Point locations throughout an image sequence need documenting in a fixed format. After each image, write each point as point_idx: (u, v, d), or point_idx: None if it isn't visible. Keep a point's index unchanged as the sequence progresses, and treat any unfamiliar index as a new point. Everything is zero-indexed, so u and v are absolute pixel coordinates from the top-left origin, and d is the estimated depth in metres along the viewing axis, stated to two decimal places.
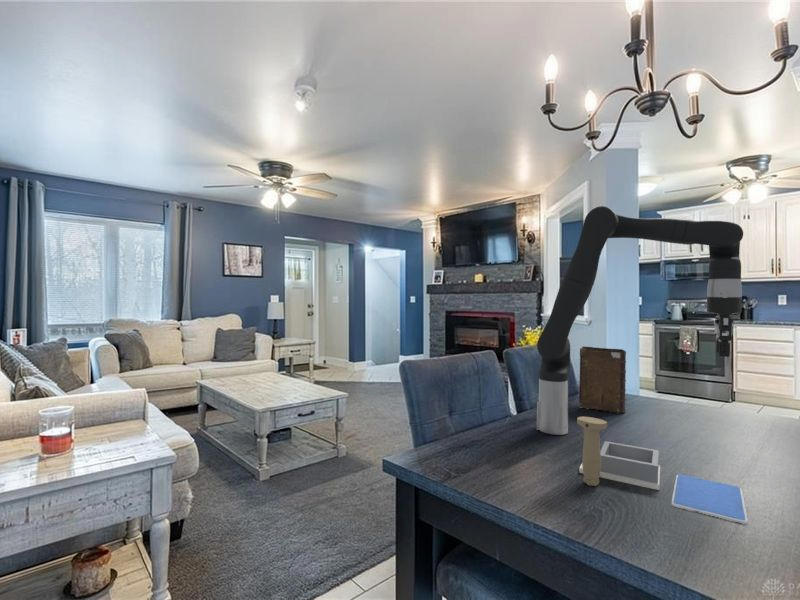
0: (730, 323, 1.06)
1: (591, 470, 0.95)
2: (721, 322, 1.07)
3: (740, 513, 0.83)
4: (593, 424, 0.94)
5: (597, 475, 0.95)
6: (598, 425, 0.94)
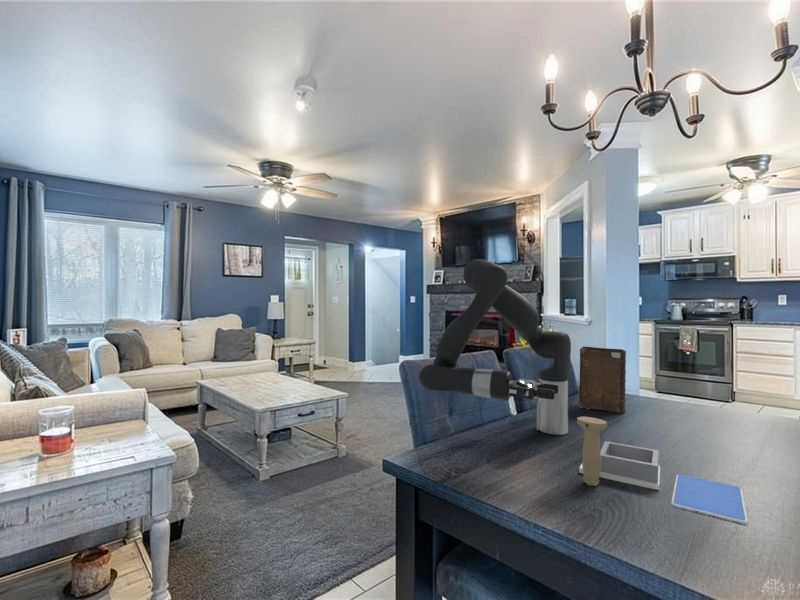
0: None
1: (591, 470, 0.95)
2: None
3: (740, 513, 0.83)
4: (593, 424, 0.94)
5: (597, 475, 0.95)
6: (598, 425, 0.94)
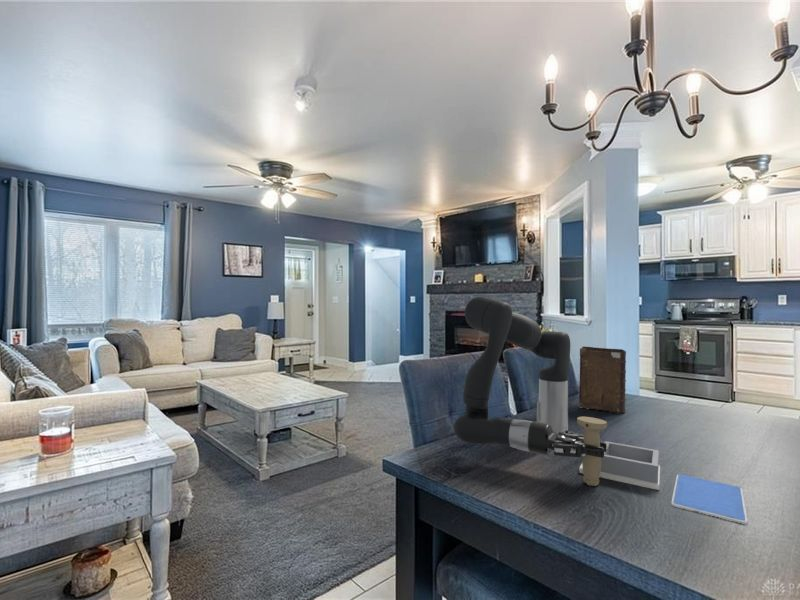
0: None
1: (591, 470, 0.95)
2: None
3: (740, 513, 0.83)
4: (593, 424, 0.94)
5: (597, 475, 0.95)
6: (598, 425, 0.94)
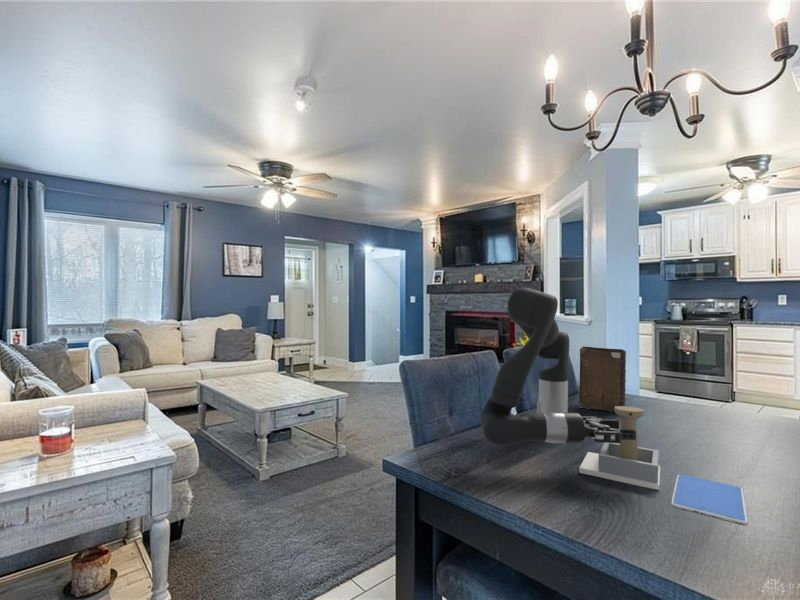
0: None
1: (633, 455, 1.01)
2: None
3: (740, 513, 0.83)
4: (637, 412, 1.01)
5: (636, 459, 1.02)
6: (641, 413, 1.01)
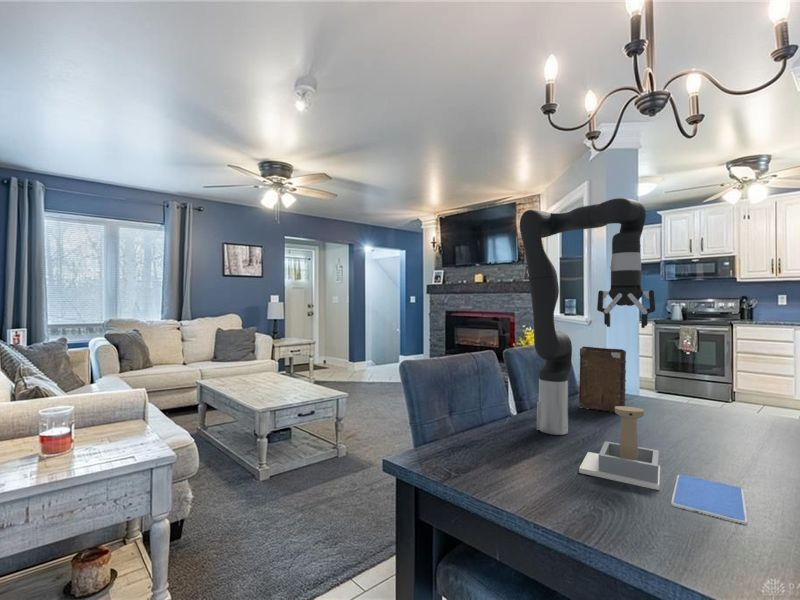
0: (598, 295, 1.18)
1: (633, 456, 1.01)
2: None
3: (740, 513, 0.83)
4: (637, 412, 1.01)
5: (636, 459, 1.02)
6: (641, 413, 1.01)
